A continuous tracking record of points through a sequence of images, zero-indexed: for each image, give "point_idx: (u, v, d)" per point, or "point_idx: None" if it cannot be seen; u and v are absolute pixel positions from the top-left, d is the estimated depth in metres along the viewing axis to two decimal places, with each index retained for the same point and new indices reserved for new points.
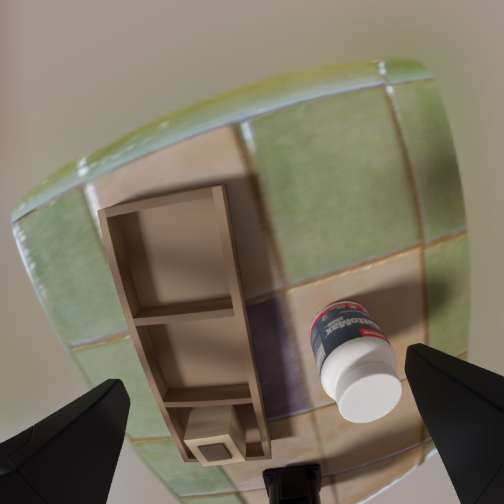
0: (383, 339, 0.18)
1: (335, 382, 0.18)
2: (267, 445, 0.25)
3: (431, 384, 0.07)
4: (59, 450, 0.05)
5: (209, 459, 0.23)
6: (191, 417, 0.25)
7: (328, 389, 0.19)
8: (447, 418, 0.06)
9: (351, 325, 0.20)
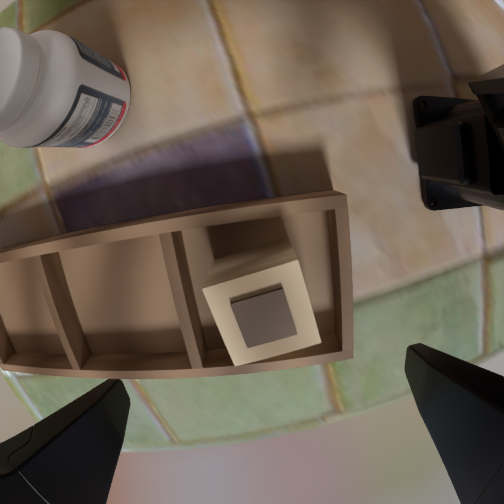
0: None
1: (14, 127, 0.09)
2: (296, 203, 0.14)
3: (431, 384, 0.07)
4: (59, 450, 0.05)
5: (288, 330, 0.13)
6: None
7: (32, 132, 0.09)
8: (447, 418, 0.06)
9: None
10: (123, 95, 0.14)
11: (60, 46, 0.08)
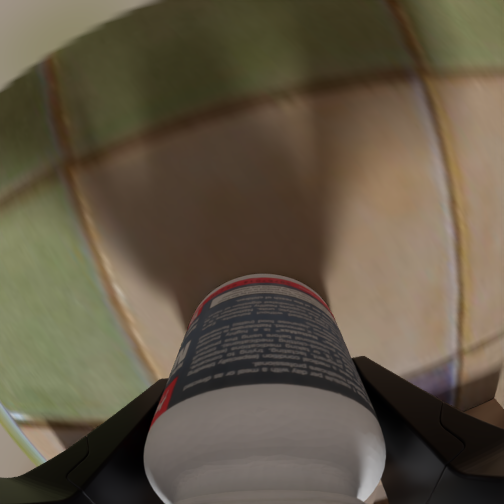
0: (151, 425, 0.05)
1: None
2: None
3: None
4: (121, 461, 0.05)
5: None
6: None
7: None
8: None
9: None
10: None
11: (376, 459, 0.05)
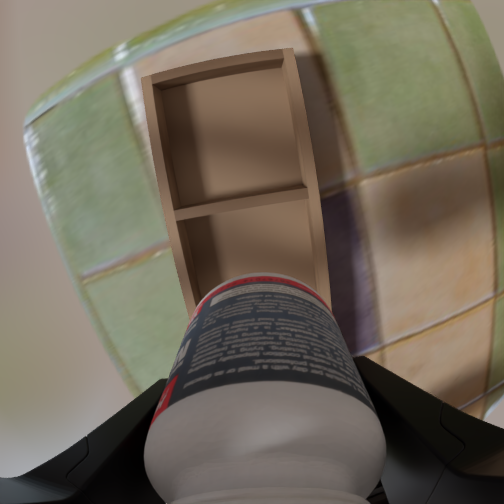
0: (152, 423, 0.05)
1: None
2: None
3: None
4: (121, 461, 0.05)
5: None
6: None
7: None
8: None
9: None
10: None
11: (377, 456, 0.05)
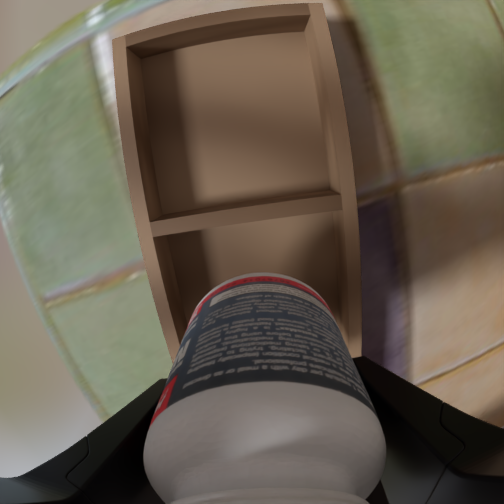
0: (151, 423, 0.05)
1: None
2: None
3: None
4: (121, 461, 0.05)
5: None
6: None
7: None
8: None
9: None
10: None
11: (376, 457, 0.05)
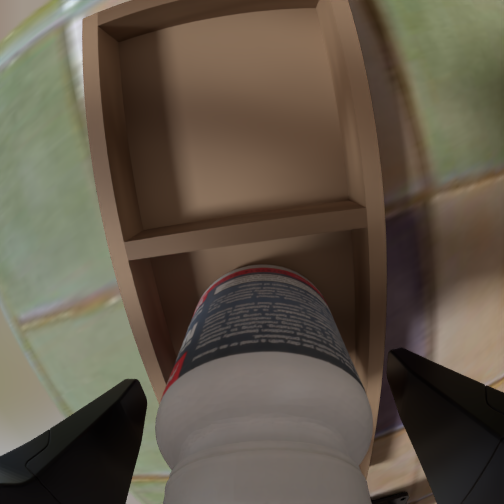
0: (163, 394, 0.06)
1: None
2: None
3: (411, 390, 0.07)
4: (79, 455, 0.05)
5: None
6: None
7: None
8: (426, 425, 0.06)
9: None
10: None
11: (363, 423, 0.06)
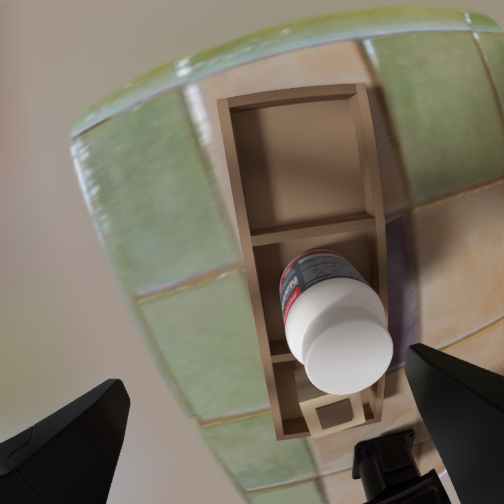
0: (292, 304, 0.15)
1: None
2: (381, 402, 0.21)
3: (431, 384, 0.07)
4: (59, 450, 0.05)
5: (325, 425, 0.19)
6: (298, 376, 0.22)
7: None
8: (447, 418, 0.06)
9: None
10: None
11: (380, 310, 0.14)
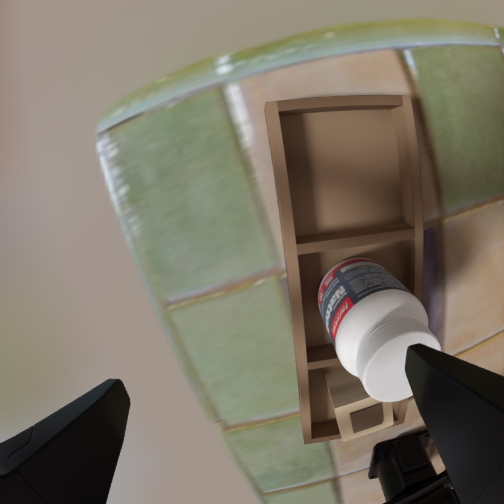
0: (344, 315, 0.15)
1: None
2: (406, 405, 0.21)
3: (431, 384, 0.07)
4: (59, 450, 0.05)
5: (357, 429, 0.19)
6: (330, 381, 0.21)
7: None
8: (447, 418, 0.06)
9: (329, 330, 0.17)
10: None
11: (426, 320, 0.14)
